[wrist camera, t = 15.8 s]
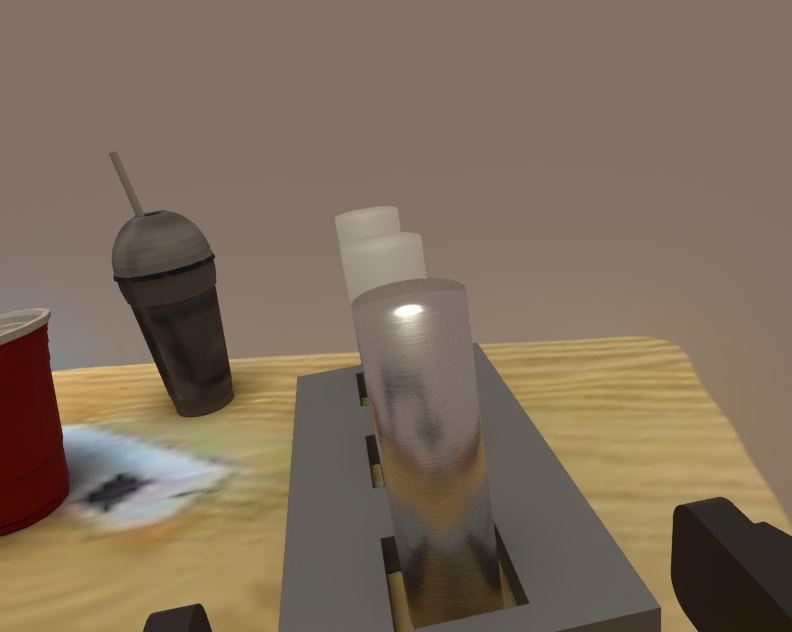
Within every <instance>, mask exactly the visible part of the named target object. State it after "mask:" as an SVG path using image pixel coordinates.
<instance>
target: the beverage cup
mask: <svg viewBox="0 0 792 632" xmlns="http://www.w3.org/2000/svg"><path fill="white" fill-rule="evenodd" d="M109 155H110V157H111V160H112V162H113V164H114V166H115V169H116V171H117V173H118V175H119V178H120V180H121V182H122V185H123V187H124V189H125V191H126V194H127V196H128V198H129V200H130V203H131V205H132V207H133V209H134V212H135V214H136V216H135V217H133V218H132V219H131V220H129V221H128V222H127V223H126V224H125V225H124V226H123V227H122V229H121V230H120V231H119V233H118V235H117V237H116V239H115V242H114V246H113V251H112V266H113V271H114V281H116V282H118V285H119V288H120V291H121V292H122V294H123V296H124V298H125V299H126V301H127V303H128V304H129V305H131V308H132V310H133V312H134V315H135V317H136V319H137V322H138V324H139V326H140V329H141V331H142V333H143V335H144V338H145V340H146V342H147V345H148V347H149V350H150V352H151V354H152V357H153V359H154V361H155V364H156V366H157V368H158V371H159V373H160V375H161V378H162V380H163V382H164V385H165V387H166V389H167V392H168V394H169V396H170V397H171V399H172V401H173V403H174V405H175V406H176V409H177V412H178V414H180V415H181V416H186V417H196V416H202V415H206V414H209V413H212V412H215V411H217V410H219V409H221V408H223V407H224V406H226V405H227V404H229V403H230V402H231V400H232V399H233V397H234V394H233V391H232V382H231V378H232V377H231V372H230V366H229V360H228V355H227V349H226V343H225V338H224V333H223V327H222V321H221V315H220V310H219V304H218V298H217V293H216V287H215V284H216V269H215V264H214V261H213V259H214V258H215V256H214V254H213V252H212V250H211V249H210V246H209V244H208V242H207V240H206V238H205V236H204V235H203V233H202V232H201V231H200V230H199V228H198V227H197V226H196V225H195V224H194V223H192V222H191V221H190V220H188V219H187V218H185V217H184V216H182V215H179V214H177V213H174V212H169V211H164V210H162V211H155V212H149V213H143V211H142V209H141V206H140V204H139V202H138V200H137V197H136V195H135V193H134V190H133V188H132V186H131V184H130V181H129V179H128V177H127V174H126V172H125V170H124V168H123V165H122V163H121V161H120V158H119V156H118V154H117V152H112V153H109Z"/></svg>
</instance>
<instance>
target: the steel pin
mask: <svg viewBox="0 0 792 632" xmlns="http://www.w3.org/2000/svg"><path fill="white" fill-rule="evenodd" d="M351 309H352V314H353V319H354V325H355V330H356V335H357V340H358V346H359V351H360V356H361V361H362V367H363V372H364V377H365V382H366V388H367V393H368V398H369V404H370V409H371V414H372V419H373V425H374V430H375V435H376V440H377V446H378V451H379V456H380V461H381V467H382V472H383V477H384V482H385V488H386V493H387V498H388V503H389V509H390V514H391V519H392V524H393V530H394V535H395V540H396V546H397V551H398V556H399V561H400V567H401V572H402V577H403V582H404V588H405V593H406V598H407V603H408V609H409V614H410V618H411V621H412V624H413V626H414V627H415V629H418V628H422V627H427V626H431V625H436V624H440V623H445V622H449V621H454V620H458V619H462V618H467V617H471V616H476V615H480V614H485V613H489V612H494V611H498V610H503V598H502V590H501V581H500V573H499V565H498V556H497V548H496V539H495V531H494V523H493V514H492V506H491V498H490V489H489V481H488V472H487V464H486V456H485V447H484V439H483V431H482V422H481V414H480V405H479V397H478V389H477V380H476V372H475V363H474V355H473V347H472V339H471V330H470V323H469V313H468V306H467V296H466V288H465V286H464V285H463V284H461V283H460V282H457V281H454V280H450V279H442V278H421V279H411V280H404V281H398V282H394V283H389V284H386V285H382V286H379V287H376V288H373V289H371V290H369V291H366V292H364V293H362V294H361V295H359V296H358V297H356V298H355V299H354V300H353V302H352V304H351Z"/></svg>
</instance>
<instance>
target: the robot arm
mask: <svg viewBox="0 0 792 632" xmlns="http://www.w3.org/2000/svg"><path fill="white" fill-rule="evenodd" d="M671 580H672V585H673V588H674V592H675V595H676V597H677V599H678V602H679V604H680V606H681V608H682V609H683V611H684V613H685V614H686V616H687V617H688V618H689V620H690V621H691V622H692V624H693V625H694V626H695V628H696V629H697V631H698V632H792V536H790V535H788V534H787V533H785V532H783V531H781V530H779V529H777V528H775V527H773V526H772V525H770V524H768V523H766V522H760V523H755V524H754V523H753V522H752V521H751V520H749V519H748V518H747V517H746V516H745V515H744V514H743V513H742V512H741V511H740V510H739V509H738V508H737V507H736V506H735V505H734V504H733V503H732V502H730V501H729V500H728V499H726V498H723V497H716V498H711V499H706V500H702V501H697V502H692V503H687V504H682V505H678V506H677V507H676V508H675V510H674V514H673V532H672V556H671ZM143 632H212V630H211V627H210V624H209V621H208V618H207V615H206V612H205V610H204V608H203V606H202V605H201V604H194V605H189V606H184V607H179V608H174V609H170V610H165V611H160V612H155V613H152V614H151V615H150V616H149V617H148V619H147V621H146V624H145V627H144V630H143Z"/></svg>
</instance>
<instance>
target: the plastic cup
mask: <svg viewBox="0 0 792 632" xmlns="http://www.w3.org/2000/svg"><path fill="white" fill-rule="evenodd" d="M50 317H51V313H50V309H43V308H36V309H28V310H20V311H14V312H9V313H5V314H0V535H5V534H8V533H11V532H14V531H16V530H19V529H22V528H24V527H27V526H29V525H30V524H32V523H34V522H36V521H38V520H39V519H41V518H43V517H45V516H46V515H47V514H49V513H50V512H51V511H52V510H54V509H55V508H56V507H57V506H59V505H60V504H61V503H62V501H63V500H64V498H65V497H66V496H67V494H68V490H69V483H68V479H69V473H68V468H67V463H66V458H65V453H64V448H63V433H62V428H61V422H60V417H59V411H58V406H57V400H56V395H55V390H54V384H53V379H52V373H51V368H50V362H49V361H50V354H49V348H48V342H49V340H48V334H47V330H48V327H47V325H48V321H49V319H50Z"/></svg>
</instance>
